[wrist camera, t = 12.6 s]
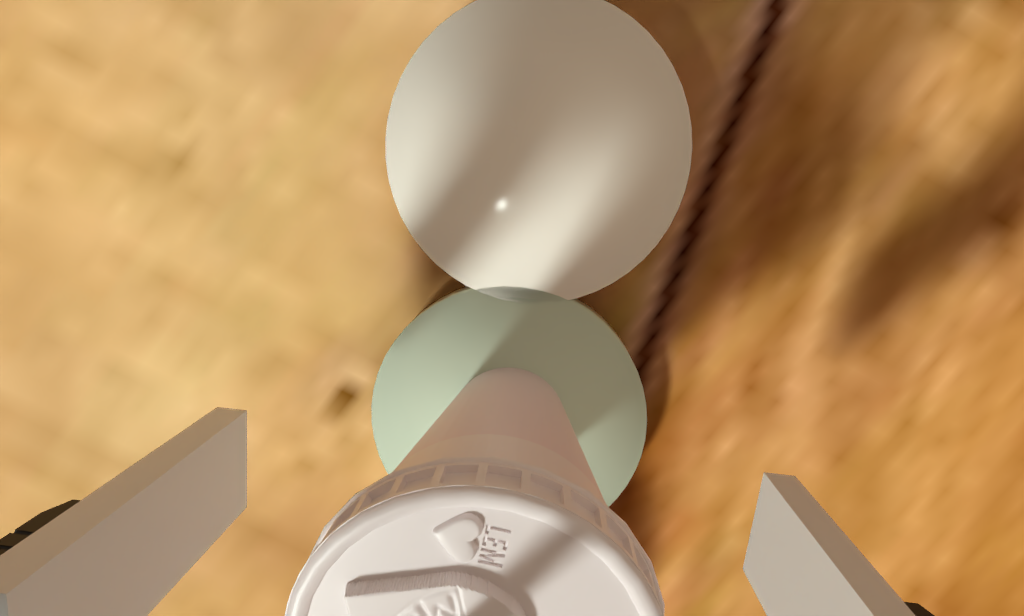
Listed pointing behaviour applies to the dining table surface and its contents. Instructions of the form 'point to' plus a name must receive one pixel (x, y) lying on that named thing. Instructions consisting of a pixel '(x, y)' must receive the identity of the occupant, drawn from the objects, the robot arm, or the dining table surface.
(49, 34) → the dining table surface
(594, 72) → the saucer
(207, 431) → the robot arm
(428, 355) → the saucer mid
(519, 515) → the smoothie
